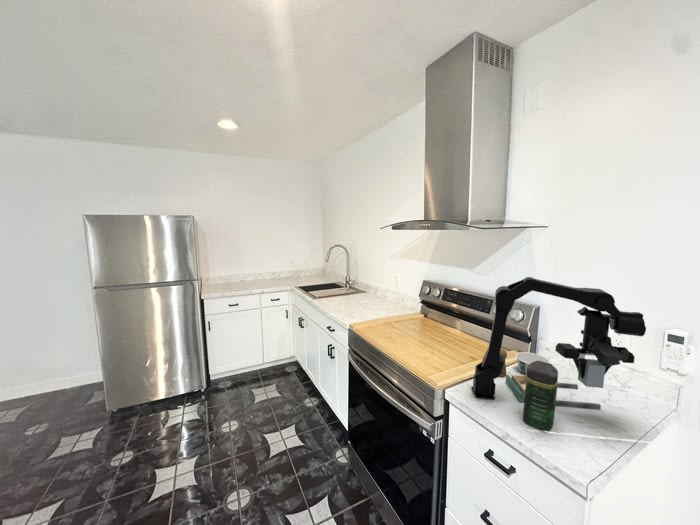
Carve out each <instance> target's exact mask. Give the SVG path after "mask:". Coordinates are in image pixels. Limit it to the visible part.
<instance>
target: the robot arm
mask: <svg viewBox="0 0 700 525" xmlns="http://www.w3.org/2000/svg"><path fill="white" fill-rule="evenodd" d="M530 292H536V293H541V294H545V295H548V296H553V297H557V298H561V299H566V300H570V301H574V302H577V303H578V304H581V305H583V307H582V308H581V309H578V310H577V311H576V312H577V313H578V315H580V316H581V317H584V323H583V324H584V325H583V326H584V327H583V329H581V330H580V334H582V342H581V341H580V342H579V346H580V347H575V346H574V345H573V344H571V343H564V342H563V343H562V342H558V343H557V344H556V345H555V352H557V353H558V354H559V355H560V356H562V357H563V358H565V359H568V360H571V359H572V360H573V363H574V365H575V367H576V370H577V373H579V375H580V377H581V378H582V379H583V378H584V374H585V364H586V363H587V362H588V361H587V360H586V359H587V358H586V356H595V358H596V360H597V361H599V362H600V363H602V364H603V365H605V366H606V367H605V375H606V374H607V372H608V371H609V370H610V369H611V367H612V366H618V365H621V362H622V363H625V364H635V359H636V357H635V355H634V353H633V352H630V351H629V350H628V348H627V347H625V346H614V345H613V344H612V337H610V336H609V328H610V330H613V331H614V333H615V334H620V335H627V336H636V337H643V336H645V334H646V330H647V326H646V321H645V320H644V314H643V313H642V312H639V311H638V312H637V311H630V312H629V311H622V310H621V311H620V310H619V308H618V307H617V306H616V305H615V304H616V301H615V298H614V296H613V295H611V294H610V293H608V292H606V291H605V290H604V289H600V288H593V287H592V288H590V287H573V286H569V285H564V284H559V283H556V282H551V281H546V280H542V279H537V278H534V277H531V276H528V277H527V276H526V277H525V278H523V279H522V280H518V281H516V282H513V283H510V284H508V285H507V286H506V285H503V286H499V287H497V288H496V289H495V294H494V296H495V297H494V299H495V300H494V301H495V302H494V303H495V312H494V316H493V317H494V318H493V322H492V328H491V332H490V336H489V337H490V338H489V344H488V346H487V347H488V348H487V350H486V351H485V353H484V355H483V358H482V359H481V362H479V363H478V364H476V365H475V371H474V374H473V380H472V381H473V383H472V384H473V385H472V386H471V391H472V393H473V394H474V397H475V398H476V399H485V400H495V399H496V396H495V395H496V387H497V386H496V382H495V379H498V378H500V377H499V375H500V373H501V374H502V367H503V365H504V357H503V356H500V350H501V349H502V345H503V340H504V334H505V330H506V325H507V321H508V320H507V319H508V316H509V314H510V312H511V311H512V308H513V306H514V304H515V301H517V300H518V299H521V298H522V297H524V296H525V295H527V294H529V293H530ZM588 308H590V309H588ZM604 312H605V313H604ZM606 313H607V314H606Z"/></svg>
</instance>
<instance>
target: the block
mask: <svg viewBox="0 0 700 525" xmlns="http://www.w3.org/2000/svg"><path fill="white" fill-rule="evenodd" d="M585 359H586V360H587V361H588V362H587V363H586V364H585V374H584V378H583V379H582V378H581V377H580V375H579V373H578V372H577V373H578V374H577V380H578V381H579V382H580V383H582V385H584V386H585V387H588V388H598V389H599V388H601V389H604V385H605V384H604V382H605V375H606V374H605V367H606V366H605V365H603V364H602V363H600V362H599V361H597V359H594V358H593V359H591V358H585Z"/></svg>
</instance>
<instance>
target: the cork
mask: <svg viewBox="0 0 700 525" xmlns="http://www.w3.org/2000/svg"><path fill="white" fill-rule="evenodd" d="M500 356H503V357H504V365H503V367H502V374H501V373H500V375H499V377H498V378H506V375H507V366H506V359H507V357H508V352H507V351H506V350H505V349H504V348H501V350H500Z"/></svg>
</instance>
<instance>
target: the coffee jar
mask: <svg viewBox="0 0 700 525" xmlns="http://www.w3.org/2000/svg"><path fill="white" fill-rule="evenodd" d="M525 376H526V387H525V400H524V403H523V411H522V421H523V422H524V423H525V424H526V425H528V427H532V428H534V429H536V430H538V431H542V432H550V431H552V429H553V427H554V422H555V409H556V406H555V404H556V400H557V393H558V388H557V383H559V382H558V381H559V380H558V378H559V371H558V369H557V368H556V366H554V365H553V364H552V363H550V364H549V363H546V362H542V361H535V362H532V363H530V364H529V365H528V368H527V375H525Z"/></svg>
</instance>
